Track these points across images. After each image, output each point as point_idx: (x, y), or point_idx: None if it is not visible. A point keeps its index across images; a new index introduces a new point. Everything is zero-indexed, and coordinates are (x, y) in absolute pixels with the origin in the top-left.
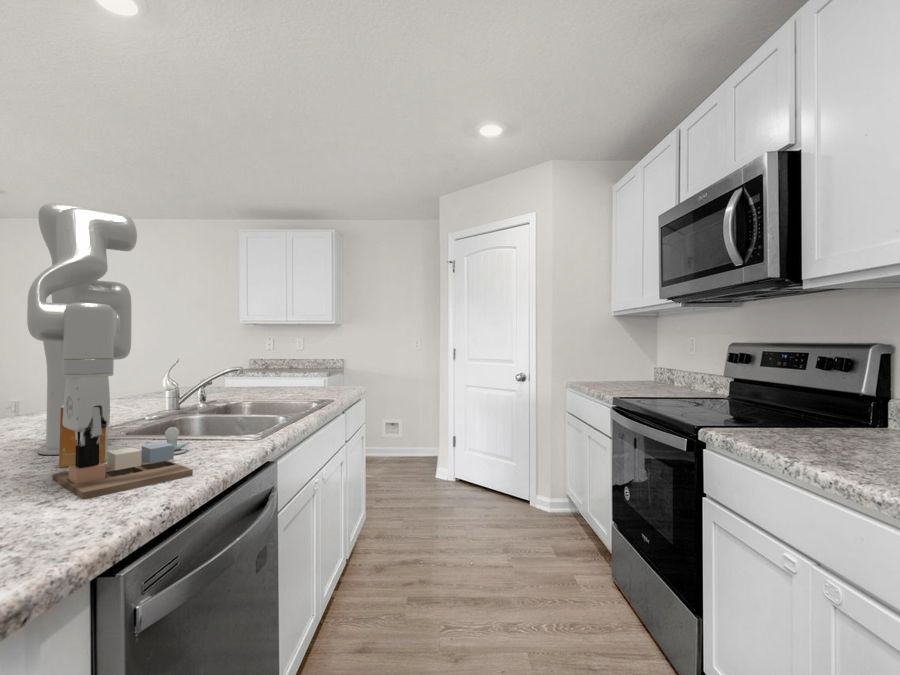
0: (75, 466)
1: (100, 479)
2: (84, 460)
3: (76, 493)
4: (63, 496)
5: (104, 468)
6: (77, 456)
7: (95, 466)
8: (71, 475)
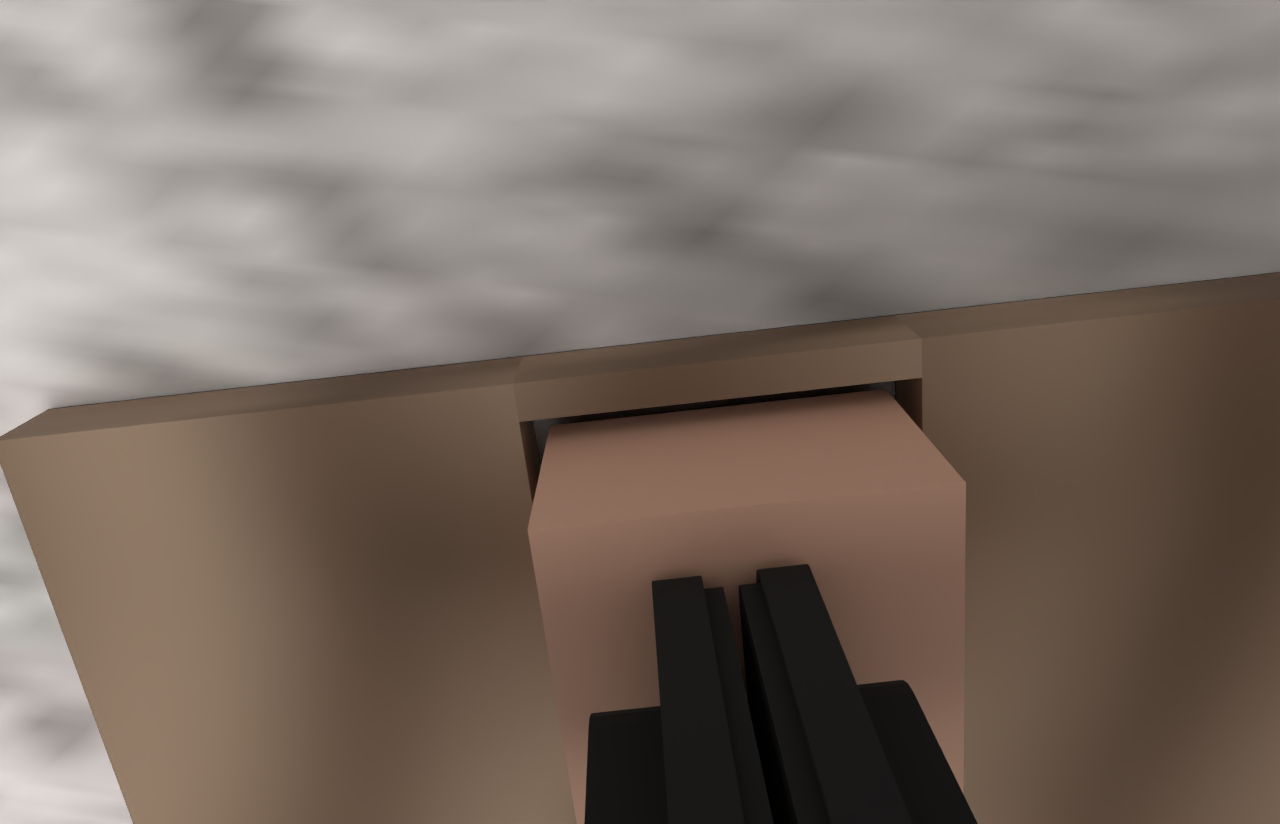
0: (862, 558)
1: None
2: (602, 726)
3: (293, 389)
4: (368, 260)
5: None
6: (718, 693)
7: None
8: (773, 448)
